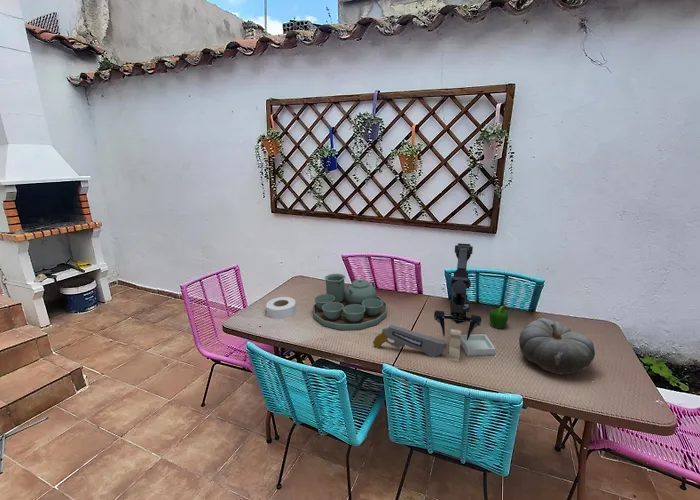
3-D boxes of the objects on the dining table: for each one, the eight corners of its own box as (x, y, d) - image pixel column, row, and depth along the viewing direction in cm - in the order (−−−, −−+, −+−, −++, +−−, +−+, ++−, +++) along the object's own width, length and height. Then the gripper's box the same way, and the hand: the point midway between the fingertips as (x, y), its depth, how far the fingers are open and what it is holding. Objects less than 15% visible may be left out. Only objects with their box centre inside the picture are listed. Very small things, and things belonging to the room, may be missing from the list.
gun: (430, 376, 145) (447, 346, 139) (370, 346, 149) (385, 316, 143) (430, 371, 149) (447, 341, 142) (372, 342, 153) (386, 312, 147)
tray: (458, 340, 153) (459, 334, 152) (484, 340, 153) (485, 334, 152) (467, 355, 142) (467, 349, 141) (495, 355, 142) (495, 348, 141)
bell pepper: (496, 331, 160) (498, 312, 157) (485, 323, 168) (487, 304, 165) (511, 328, 162) (513, 309, 159) (499, 320, 170) (501, 302, 167)
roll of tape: (291, 319, 177) (290, 310, 176) (262, 318, 180) (261, 308, 178) (300, 306, 192) (299, 297, 190) (273, 305, 194) (272, 296, 193)
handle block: (449, 354, 144) (451, 329, 140) (459, 356, 142) (461, 330, 139) (448, 359, 140) (450, 334, 136) (458, 361, 139) (460, 335, 135)
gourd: (528, 331, 154) (539, 300, 146) (591, 361, 139) (607, 328, 131) (506, 361, 138) (516, 327, 130) (575, 398, 123) (591, 363, 115)
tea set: (300, 324, 172) (297, 294, 168) (331, 293, 208) (330, 268, 203) (375, 337, 159) (375, 305, 154) (395, 301, 194) (395, 274, 190)
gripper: (435, 292, 143) (431, 329, 136) (483, 298, 137) (481, 336, 130) (436, 302, 152) (432, 336, 145) (481, 307, 146) (479, 343, 139)
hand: (455, 338), depth 140 cm, fingers open, 9 cm apart
